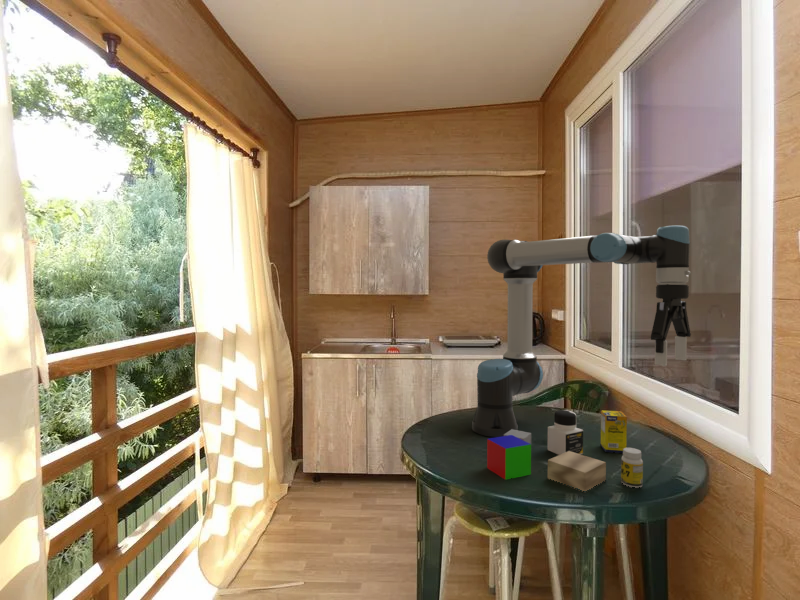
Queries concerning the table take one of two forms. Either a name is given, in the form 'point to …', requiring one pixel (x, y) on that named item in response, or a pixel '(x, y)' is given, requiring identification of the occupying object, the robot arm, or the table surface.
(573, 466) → the oak block
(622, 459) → the supplement bottle
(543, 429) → the table surface
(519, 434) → the grey block
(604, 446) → the supplement box
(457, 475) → the table surface
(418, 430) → the table surface
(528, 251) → the robot arm
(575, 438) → the medicine bottle
